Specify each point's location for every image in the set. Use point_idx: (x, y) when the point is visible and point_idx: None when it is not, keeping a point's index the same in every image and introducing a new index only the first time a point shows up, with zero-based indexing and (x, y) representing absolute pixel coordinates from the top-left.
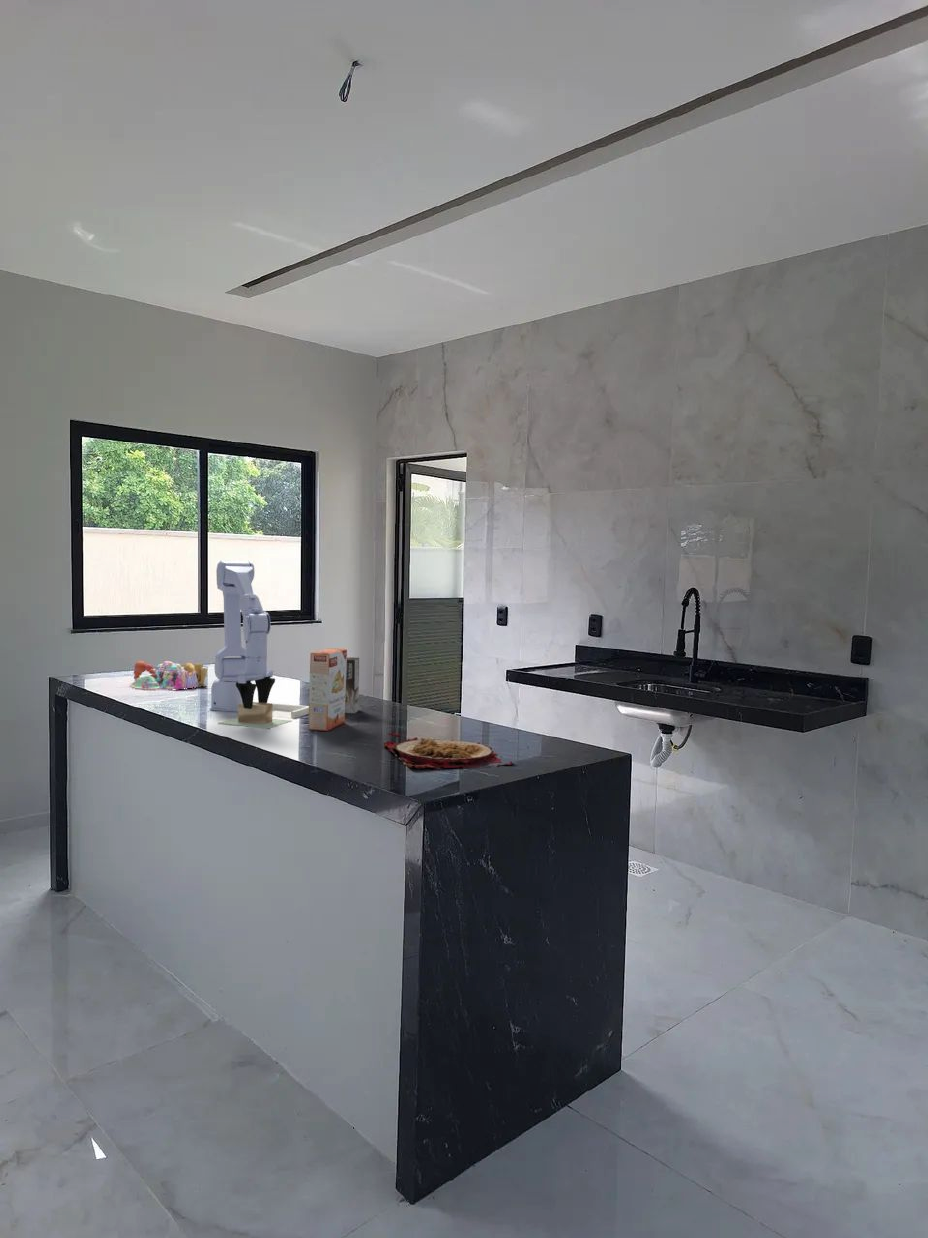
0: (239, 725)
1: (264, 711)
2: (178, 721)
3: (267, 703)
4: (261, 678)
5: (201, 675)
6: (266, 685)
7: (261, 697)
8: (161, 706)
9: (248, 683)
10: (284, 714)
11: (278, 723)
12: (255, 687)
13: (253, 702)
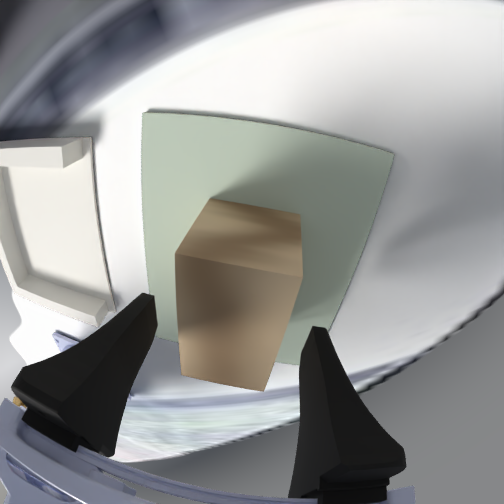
0: (341, 301)
1: (292, 251)
2: (291, 421)
3: (186, 284)
4: (119, 466)
5: (19, 406)
6: (96, 393)
7: (140, 345)
8: (156, 439)
9: (365, 486)
10: (50, 216)
11: (251, 145)
12: (344, 444)
13: (195, 352)
